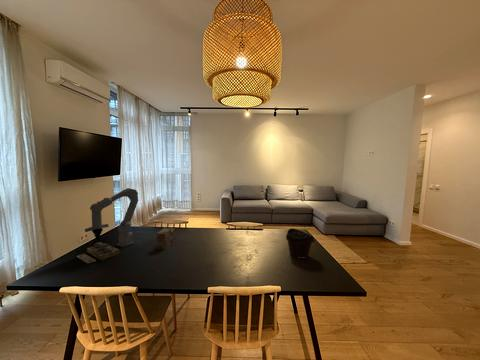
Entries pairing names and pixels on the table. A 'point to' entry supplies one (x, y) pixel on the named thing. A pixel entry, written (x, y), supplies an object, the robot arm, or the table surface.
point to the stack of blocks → (165, 238)
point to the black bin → (299, 243)
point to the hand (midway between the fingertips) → (97, 239)
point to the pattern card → (86, 258)
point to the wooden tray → (102, 252)
